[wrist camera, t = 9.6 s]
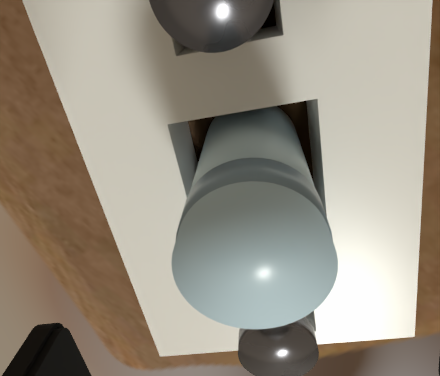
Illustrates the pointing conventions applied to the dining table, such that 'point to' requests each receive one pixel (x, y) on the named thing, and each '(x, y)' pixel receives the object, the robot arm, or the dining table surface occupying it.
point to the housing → (244, 101)
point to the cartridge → (254, 226)
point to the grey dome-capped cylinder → (211, 21)
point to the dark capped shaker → (279, 349)
